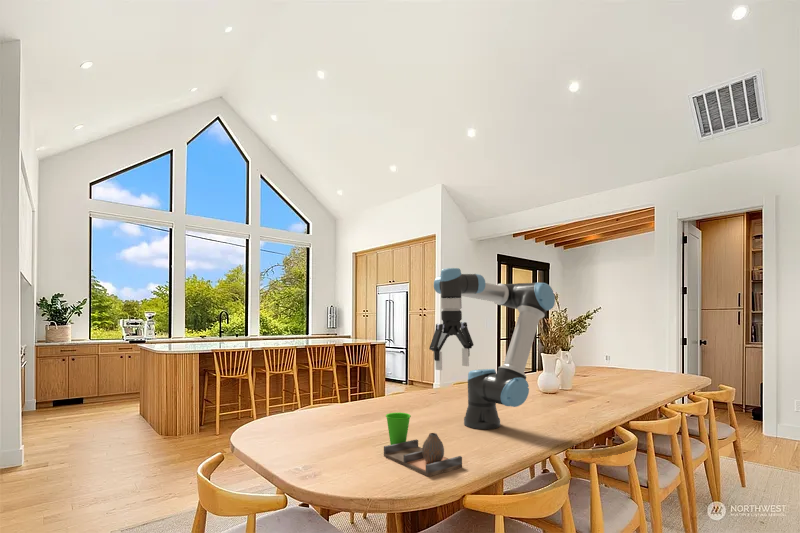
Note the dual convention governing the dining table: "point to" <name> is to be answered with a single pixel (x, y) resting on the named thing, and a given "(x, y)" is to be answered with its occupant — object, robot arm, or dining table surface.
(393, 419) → the cup
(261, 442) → the dining table surface
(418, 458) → the rack
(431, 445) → the vase
